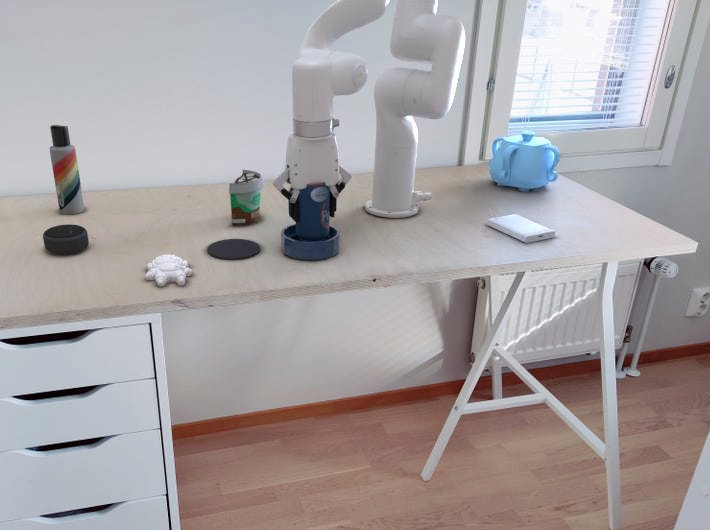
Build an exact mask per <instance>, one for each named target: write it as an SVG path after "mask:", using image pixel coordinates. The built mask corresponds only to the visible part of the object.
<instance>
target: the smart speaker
mask: <svg viewBox="0 0 710 530" xmlns="http://www.w3.org/2000/svg"><path fill="white" fill-rule="evenodd" d="M88 233H89V232H88V230H87V229H86V228H85V227H83V226H82V225H79V224H71V223H70V224H58V225H54V226H51V227H49V228H47V229H46V230H45V231H44V232H43V233H42V240H43V245H44V246H43V247H44V249H45V250H46V251H47V252H48V253H50V254H53V255H59V256H65V255H66V256H68V255H75V254H78V253H80V252H82V251H85V250H86V249H87V248H88V247H89V244H90V241H89V234H88Z"/></svg>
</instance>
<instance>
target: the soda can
mask: <svg viewBox="0 0 710 530" xmlns="http://www.w3.org/2000/svg"><path fill="white" fill-rule="evenodd" d="M297 202H298V203H299V221H298V222H295V224H296V234H297V235H298V237H299V238H300V240H302V241H305V242H318V241H323V240H325V239H326V237H327V235H328V234H329V228H330V226H331V224H330V223H331V222H330V219H331V217H330V188H329V186H326V185H325V182H324V183H321V184H307V187H306V188H305V189H302V190H300V193H299V195H298V197H297Z"/></svg>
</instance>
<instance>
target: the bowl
mask: <svg viewBox="0 0 710 530" xmlns="http://www.w3.org/2000/svg"><path fill="white" fill-rule="evenodd" d="M280 246H281V247H280V250H281V251H282V253H283V254H284V255H286V256H288V257H290V258H294V259H298V260H305V261H316V260H323V259H324V260H325V259H327V258H330V257H331V258H332V257H333V256H335V255H337V254H338V253H339V249H340V230H339V229H338V228H336V227H335V226H333V225H330V228H329V234H328V235H327V237H326V239H325V240H323V241H318V242H305V241H302V240H300V238H299V237H298V235H297V234H296V223H293V224H289V225H286V226H285V227H284V228H282V229H281V232H280Z"/></svg>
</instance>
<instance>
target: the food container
mask: <svg viewBox="0 0 710 530" xmlns="http://www.w3.org/2000/svg"><path fill="white" fill-rule="evenodd" d="M241 170H242V171H241V172H242V174H241V175H240V176H239V177H237V178H236V179H235V181H234V182H233V183H231V182H229V184H228V185H229V186H228V193H229V199H230V211H231V213H230V215H231V223H232V224H231V226H232V227H246V226H252V225H254V224H256V223H258V222H259V221H260V213H261V212H260V210H261V190H262V189H263V188H264V187H265V185H264V180H263V177H262V175H261V173H259V172H257V171H256V170H255V171H254V170H251V169H250V170H249V169H241Z"/></svg>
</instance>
